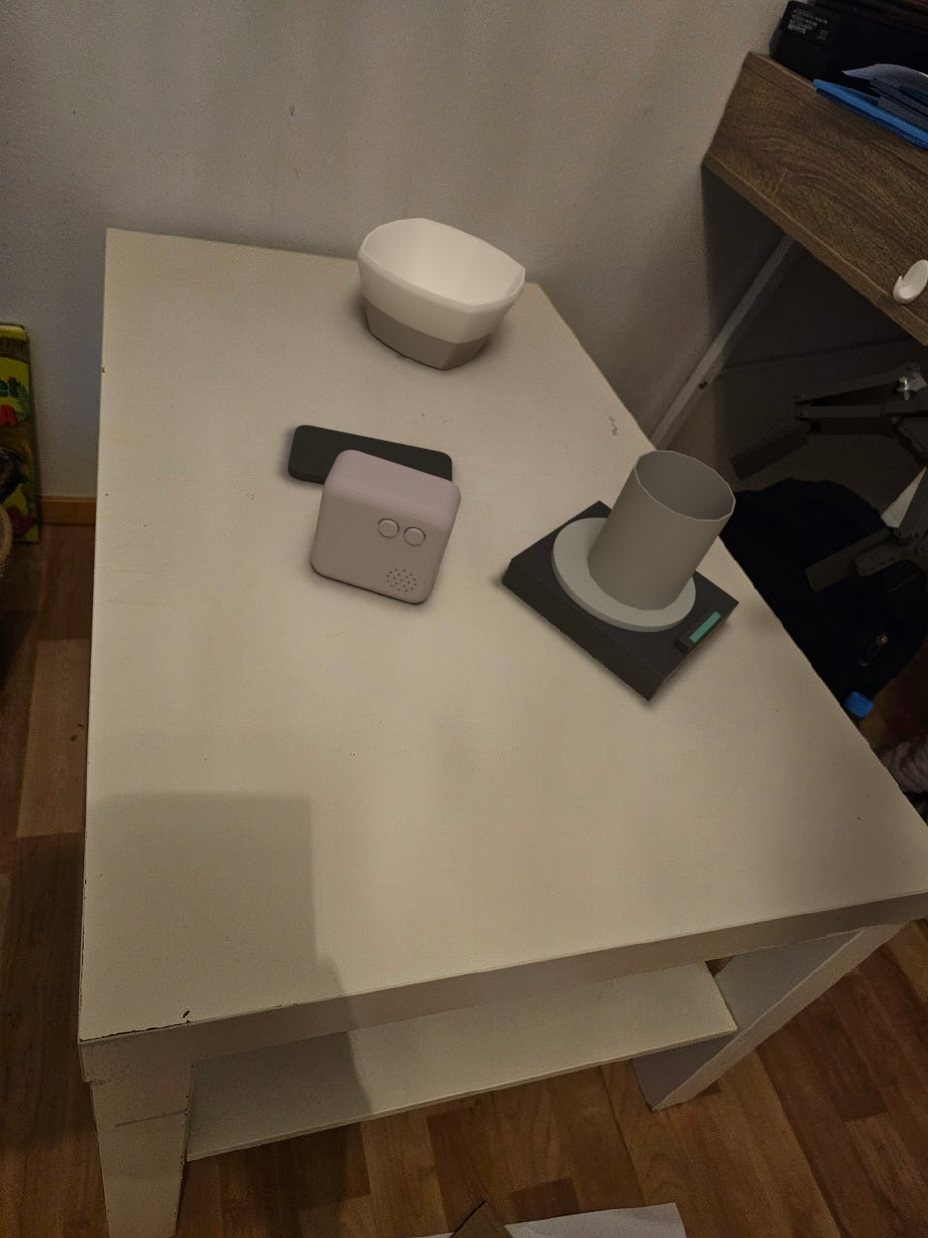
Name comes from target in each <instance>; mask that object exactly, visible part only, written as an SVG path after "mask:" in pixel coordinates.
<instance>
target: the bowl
mask: <svg viewBox="0 0 928 1238" xmlns="http://www.w3.org/2000/svg"><path fill="white" fill-rule="evenodd" d="M356 261H357V265H358V266H357V267H358V272H359V278H360V284H361V285H360V286H361V289H362V290H361V291H362V295H363V299H364V306H365V312H366V317H367V323H368V330H369V332H370V333H371V334H372V335H374V337H376V338H377V339H378V340H380V341H381V342H382V343H383V344H385V345H387V346H388V347H390V348H391V349H393V350H394V351H396V352H397V353H398V354H400V355H403V356H405V357H407V358H409V359H412V360H414V361H416V362H419V363H421V364H424V365H427V366H429V367H432V368H435V369H438V370H449V369H452V368H455V367H458V366H461V365H463V364H465V363H467V362H468V361H471V360H472V359H474V357H475V356H476V355H477V353H478V352H479V351H480V350H481V348H482V347H483V346H484V344H485V343H486V341H487V340H488V339H489V337H490V336H492V334H493V332H495V330H496V329H497V327H498V326H499V324H500V323H501V322H502V321H503V319H504V318H505V317H506V316H507V314H508V313H509V311H510V310H511V309H512V307H513V306H515V305H514V304H516V302H517V301H518V299H519V298H520V297H521V295H522V293H523V292H524V291H525V284H526V276H527V275H526V273H527V272H526V268H525V267H524V266H523V265H522V264H520V263H519V262H517V261H516V260H515V259H513V258H512V257H511V256H510V255H508V254H507V253H506V252H504V251H502V250H500V249H498V248H497V247H495V246H493V245H492V244H490V243H489V242H486V241H484V239H481V238H479V237H477V236H474V235H472V234H469V233H467V232H466V231H464V230H463V231H462V230H460V229H458V228H455V227H453V226H451V225H448V224H444V223H441V222H439V221H435V220H431V219H428V218H425V217H415V218H405V219H397V220H394V221H391V222H388V223H384V224H381V225H378V226H376V228H374V229H373V230H371V232H369V233H368V234H367V235H366V236H365V237H364V238H363V240H362V242H361V244H360V246H359V249H358V251H357V253H356Z"/></svg>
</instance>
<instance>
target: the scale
mask: <svg viewBox="0 0 928 1238" xmlns="http://www.w3.org/2000/svg"><path fill="white" fill-rule="evenodd" d="M611 510H612V508H611V507H609V505H607V504H606V503H604V502H603V501H602V500H600V499H599V500H597V501H596V502H594V503H592V504H590V506H588V507H587V508H585V509H584V510H582V511H581V512H579V513H578V514H576V515H574V516H573V517H572V518H570V519H569V520H567V521H566V522H564V523H562V524H561V525H560V526H558V527H556V528H555V529H554V530H552V531H550V532H549V533H548V534H546V535H545V536H543V537H542V538H540V539H539V540H537V541H535V542H534V543H533V544H531V545H529V546H528V547H527V548H526V549H524V550H522V551H520V552H519V553H518V554H516V555H515V556H513V557H512V558H511V559H510V561H509V563H508V566H507V569H506V571H505V573H504V576H503V577H502V580H501V584H502V585H504V586H505V587H506V588H507V589H509V591H511V592H512V593H513V594H515V595H516V596H518V597H519V598H520V599H521V600H522V601H524V602H525V603H526V604H527V605H529V606H530V607H531V608H532V609H533V610H535V611H536V612H537V613H538V614H540V615H541V616H543V617H544V618H545V619H546V620H547V621H549V623H551V624H552V625H554V626H555V627H556V628H557V629H559V630H560V631H561V632H562V633H564V634H565V635H566V636H567V637H569V638H570V639H571V640H572V641H573V642H575V643H576V644H577V645H578V646H580V648H582V649H583V650H585V651H586V652H587V653H589V654H590V655H591V656H592V657H593V658H594V659H596V660H597V661H598V662H600V663H601V664H602V665H603V666H604V667H606V668H607V669H608V670H610V671H611V672H612V673H613V674H615V675H616V676H617V677H619V679H621V680H622V681H623V682H625V683H626V684H627V685H629V687H631V688H632V689H633V690H635V691H636V692H637V693H639V694H640V695H641V696H642V697H643V698H645V699H646V700H647V701H648V702H650V701H651V700H652V699H653V698H654V697H655V696H656V695H657V693H659V691H661V689H662V688H664V687H665V685H666V684H667V683H668V682H669V681H670V680H671V679H672V678H673V677H674V676H675V675H676V674H677V673H678V672H679V671H680V670H681V669H682V668H683V667H684V666H685V665H686V664H687V663H688V661H690V660H691V658H692V657H694V656H695V655H696V653H697V652H698V651H699V650H700V649H701V648H702V647H703V646H704V645H705V644H706V643H707V642H708V641H709V640H710V639H711V638H712V637H713V636H714V635H715V634H716V633H717V631H718V630H719V629H720V628H722V626H723V625H725V623H726V621H727V620H728V619H729V618H730V616H731V615H732V614H733V612H734V610H735V609H736V608H737V606H739V604H740V601H739V600H737V599H736V598H734V597H733V596H732V595H731V594H729V593H728V592H727V591H726V590H724V589H722V587H720V586H718V585H717V584H715V583H714V582H713V581H711V580H710V579H709V578H708V577H706V576H704V575H703V574H702V573H700V572H699V571H698V570H697V569H696V570H695V572H694V573H693V575H692V576H691V578H690V579H689V581H688V583H687V584H686V586H685V587H684V589H683V590H682V592H681V593H680V595H679V596H678V598H677V599H676V601H675V602H674V603H672V604H671V605H669V606H667V607H666V608H664V609H662V610H640V609H636V608H633V607H630V606H627V605H624V604H621V603H619V602H618V601H617V600H615V599H614V598H612V597H611V596H609V595H608V594H606V593H605V592H603V591H602V590H601V588H600V587H599V586H598V585H597V583H596V582H595V581H594V579H593V578H592V577H591V576H590V572H589V568H588V563H587V558H588V556H589V554H590V551H591V549H592V547H593V545H594V543H595V541H596V539H597V537H598V535H599V533H600V532H601V530H602V528H603V526H604V524H605V522H606V520H607V518H608V516H609V514H610V512H611Z"/></svg>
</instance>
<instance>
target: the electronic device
mask: <svg viewBox="0 0 928 1238" xmlns="http://www.w3.org/2000/svg"><path fill="white" fill-rule="evenodd" d="M461 500H462V493H461V490H460V488H459V487H458V486H457V485H456V484H455V483H454V482H453V481H452V482H451V481H448V480H446V479H443V478H439V477H436V476H433V475H430V474H427V473H424V472H421V471H418V470H415V469H412V468H409V467H405V466H402V465H399V464H396V463H393V462H390V461H387V460H384V459H381V458H378V457H375V456H371V455H368V454H365V453H362V452H359V451H355V450H347V451H344V452H342V453H340V454H339V455H338V457H337V458H336V461H335V463H334V465H333V467H332V469H331V471H330V473H329V475H328V477H327V479H326V481H325V483H323V486H322V493H321V498H320V504H319V510H318V515H317V520H316V526H315V532H314V536H313V537H314V538H313V544H312V549H311V555H310V560H311V561H310V562H311V565H312V567H313V569H314V570H315V571H316V572H317V573H319V574H320V575H322V576H324V577H326V578H330V579H334V580H337V581H340V582H343V583H346V584H349V585H353V586H356V587H358V588H361V589H362V588H363V589H365V590H369V591H372V592H374V593H378V594H381V595H384V596H388V597H392V598H395V599H397V600H401V601H404V602H407V603H411V604H412V603H413V604H418V603H422V602H424V601H425V600H427V599H428V598H429V597H430V595H431V594H432V591H433V588H434V585H435V583H436V580H437V576H438V574H439V571H440V567H441V565H442V563H443V558H444V556H445V553H446V550H447V546H448V544H449V541H450V537H451V535H452V532H453V529H454V526H455V523H456V518H457V515H458V511H459V509H460V505H461Z"/></svg>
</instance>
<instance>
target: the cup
mask: <svg viewBox="0 0 928 1238" xmlns="http://www.w3.org/2000/svg"><path fill="white" fill-rule="evenodd" d="M736 502H737V500H736V497H735V495H734V493H733V491H732V489H731V486H730V485H729V484H728V482H727V481H726V480H724V478H723V477H722V476H720V474H719V473H718V472H717V471H716V470H715V469H713V468H712V467H710V466H708V465H706V464H704V463H703V462H702V461H700V460H698V459H697V458H695V457H693V456H689V455H686V454H683V453H680V452H677V451H673V450H660V449H659V450H657V449H652V450H650V451H648V452H645V453H642V454H639V455H638V457H637V459H636V461H635V462H634V465H633V467H632V469H631V470H630V473H629V474H628V476H627V478H626V481H625V482H624V484H623V486H622V489H621V490H620V492H619V494H618V496H617V498H616V501H615V502H614V504H613V506H612V508H611V509H612V510H611V512H610V514H609V516H608V518H607V520H606V522H605V524H604V526H603V528H602V530H601V532H600V533H599V535H598V537H597V539H596V541H595V543H594V545H593V547H592V549H591V551H590V554H589V556H588V558H587V563H588V568H589V572H590V576H591V577H592V578H593V579H594V581H595V582H596V583H597V585H598V586H599V587H600V588H601V590H602V591H603V592H605V593H606V594H608V595H609V596H611V597H612V598H614V599H615V600H617V601H618V602H619V603H621V604H624V605H627V606H630V607H633V608H636V609H640V610H662V609H664V608H666V607H667V606H669V605H671V604H672V603H674V602H675V601H676V599H677V598H678V596H679V595H680V593H681V592H682V590H683V589H684V587H685V586H686V584H687V583H688V581H689V579H690V578H691V576H692V575H693V573H694V572H695V570H696V571H697V569H698V567H699V565H701V562H703V560H704V558H705V556H706V555H707V553H708V552H709V550H710V549H711V548H712V546H713V544H714V543H715V541H716V539H717V538H718V537H719V535H720V534H721V532H722V530H723V529H724V527H725V526H726V525H727V523H728V521H729V519H730V518H731V516H732V515H733V512H734V509H735V506H736Z"/></svg>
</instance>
